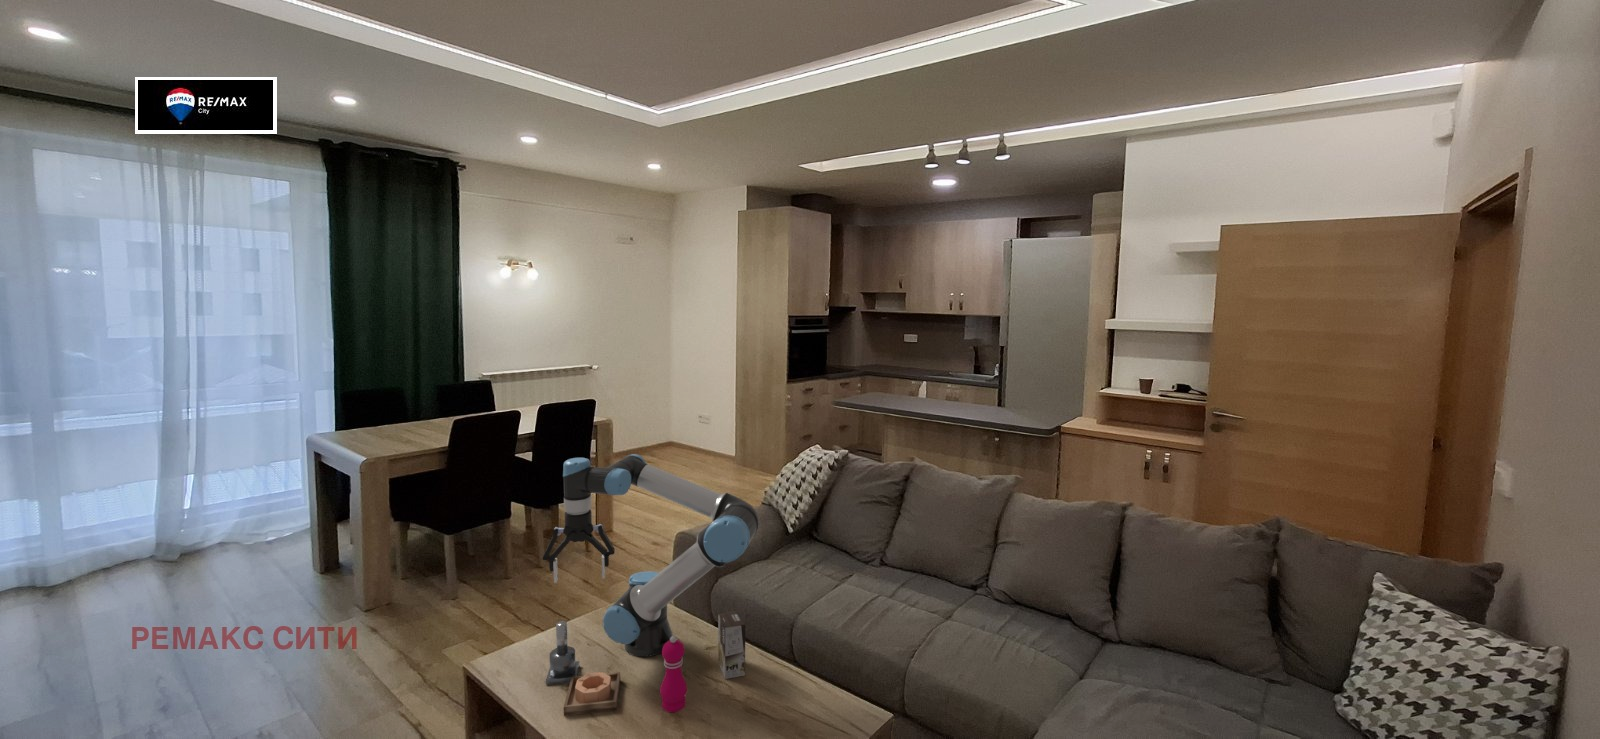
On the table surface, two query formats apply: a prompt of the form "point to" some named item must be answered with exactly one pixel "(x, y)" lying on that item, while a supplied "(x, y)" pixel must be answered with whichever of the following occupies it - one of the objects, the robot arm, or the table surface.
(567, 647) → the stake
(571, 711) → the tray
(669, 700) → the pepper mill
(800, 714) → the table surface
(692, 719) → the table surface
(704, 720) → the table surface
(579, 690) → the ring
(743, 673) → the coffee box
